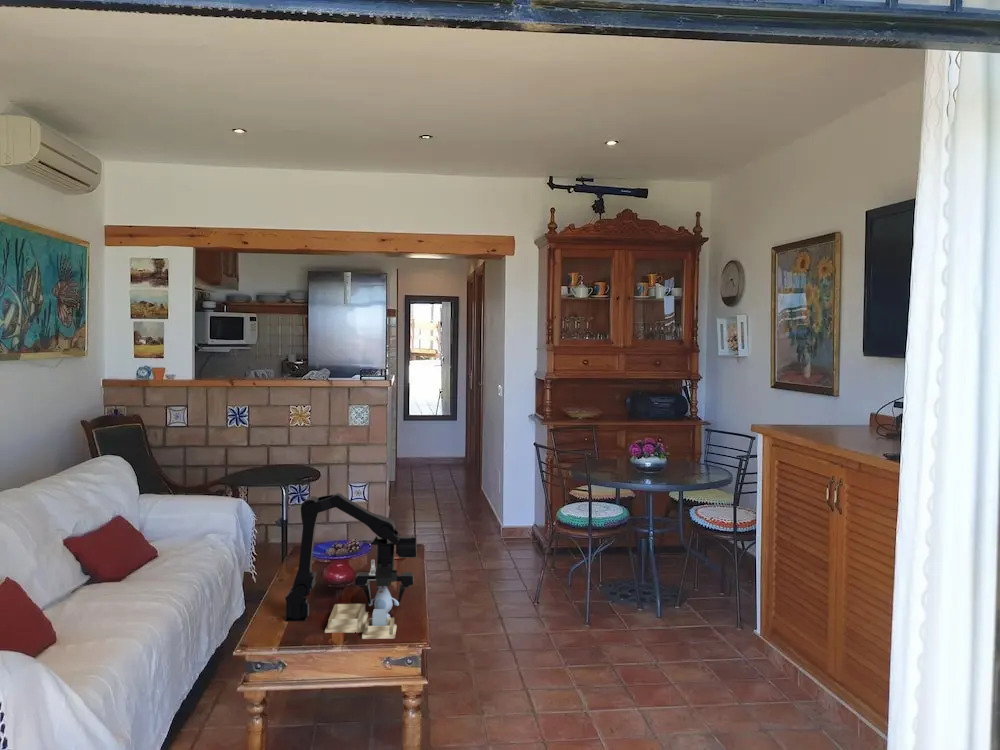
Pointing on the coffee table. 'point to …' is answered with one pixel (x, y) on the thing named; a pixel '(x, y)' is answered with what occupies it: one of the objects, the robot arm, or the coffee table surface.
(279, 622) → the coffee table surface
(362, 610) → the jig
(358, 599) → the coffee table surface
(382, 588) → the toy figure
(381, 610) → the block
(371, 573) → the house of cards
